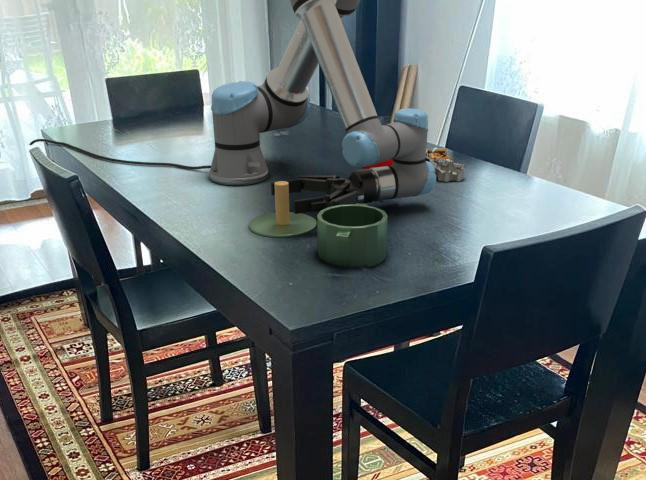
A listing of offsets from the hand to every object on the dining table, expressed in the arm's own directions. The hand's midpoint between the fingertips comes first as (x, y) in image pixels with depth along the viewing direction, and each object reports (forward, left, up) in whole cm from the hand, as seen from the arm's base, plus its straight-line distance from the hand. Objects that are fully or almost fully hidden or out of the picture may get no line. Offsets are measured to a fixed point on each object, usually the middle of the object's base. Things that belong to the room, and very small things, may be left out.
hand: (282, 197), depth 164 cm
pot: (+18, -12, -7) cm, 23 cm away
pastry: (+28, +60, -7) cm, 67 cm away
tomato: (+16, +36, -7) cm, 40 cm away
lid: (0, 0, -6) cm, 6 cm away
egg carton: (+31, +47, -7) cm, 57 cm away
